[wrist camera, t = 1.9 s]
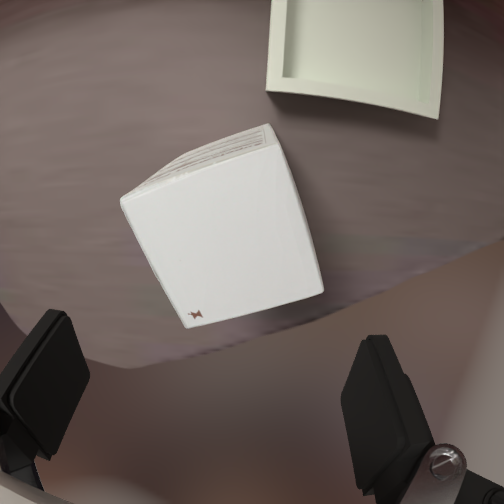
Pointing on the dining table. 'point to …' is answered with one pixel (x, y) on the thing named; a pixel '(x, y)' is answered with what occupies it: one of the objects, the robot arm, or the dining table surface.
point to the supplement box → (226, 229)
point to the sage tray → (359, 51)
